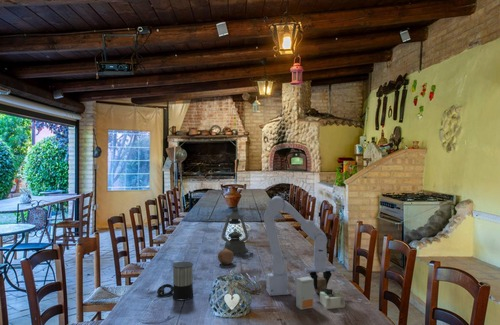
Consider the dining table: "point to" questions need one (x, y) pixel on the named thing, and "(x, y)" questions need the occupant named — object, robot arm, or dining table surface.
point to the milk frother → (180, 281)
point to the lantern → (235, 233)
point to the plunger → (327, 292)
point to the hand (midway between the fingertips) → (320, 288)
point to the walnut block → (320, 284)
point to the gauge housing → (332, 300)
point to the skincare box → (304, 292)
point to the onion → (225, 256)
